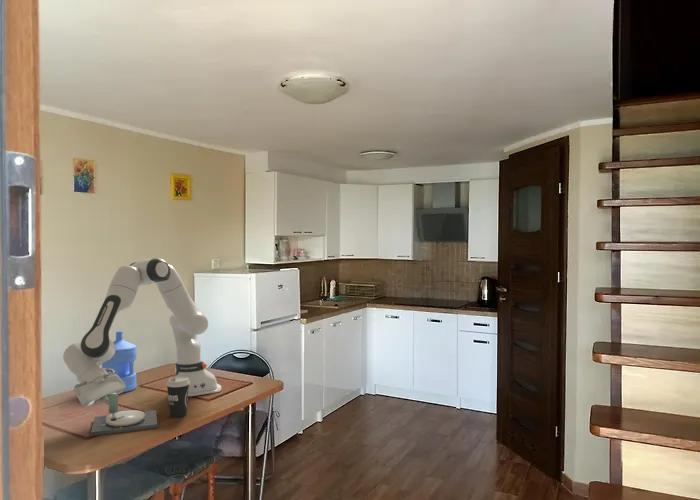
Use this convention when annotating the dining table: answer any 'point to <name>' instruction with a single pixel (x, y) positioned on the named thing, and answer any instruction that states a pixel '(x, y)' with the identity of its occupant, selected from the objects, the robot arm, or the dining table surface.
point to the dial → (122, 414)
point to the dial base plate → (103, 428)
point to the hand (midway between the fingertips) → (113, 406)
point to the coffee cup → (178, 396)
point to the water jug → (123, 362)
